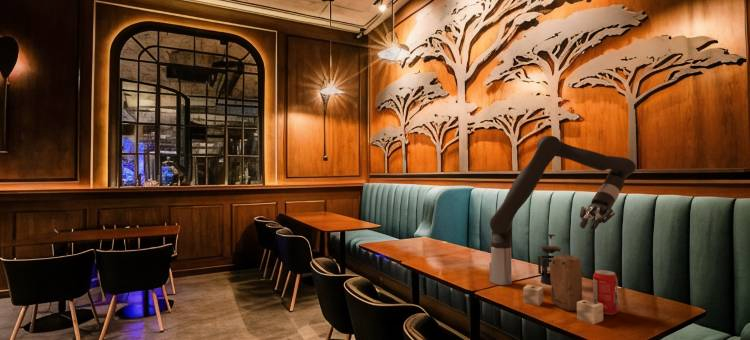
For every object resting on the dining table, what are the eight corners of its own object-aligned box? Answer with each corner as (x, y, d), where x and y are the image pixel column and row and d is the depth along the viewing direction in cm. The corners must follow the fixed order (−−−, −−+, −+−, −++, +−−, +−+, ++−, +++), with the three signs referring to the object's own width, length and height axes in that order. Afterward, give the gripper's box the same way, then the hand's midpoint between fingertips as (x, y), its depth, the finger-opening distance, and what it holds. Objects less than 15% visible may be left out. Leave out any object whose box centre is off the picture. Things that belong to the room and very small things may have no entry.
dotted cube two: (576, 318, 133) (576, 301, 133) (586, 315, 136) (585, 298, 136) (594, 324, 128) (593, 306, 128) (603, 320, 131) (602, 303, 131)
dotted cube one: (523, 302, 150) (523, 287, 150) (528, 298, 154) (527, 283, 154) (538, 306, 146) (538, 290, 146) (543, 301, 150) (543, 286, 150)
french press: (568, 283, 174) (567, 235, 174) (555, 287, 169) (555, 237, 169) (545, 277, 184) (544, 231, 184) (533, 280, 179) (532, 233, 179)
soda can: (588, 310, 141) (588, 270, 141) (602, 306, 144) (601, 268, 144) (608, 317, 133) (608, 275, 134) (623, 313, 136) (622, 273, 137)
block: (584, 310, 140) (583, 258, 140) (568, 313, 138) (567, 259, 138) (562, 301, 150) (562, 252, 150) (547, 303, 148) (546, 253, 148)
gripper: (585, 190, 160) (566, 220, 155) (618, 191, 147) (599, 224, 142) (593, 202, 162) (575, 231, 157) (627, 204, 149) (608, 236, 144)
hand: (586, 227), depth 150 cm, fingers open, 3 cm apart
